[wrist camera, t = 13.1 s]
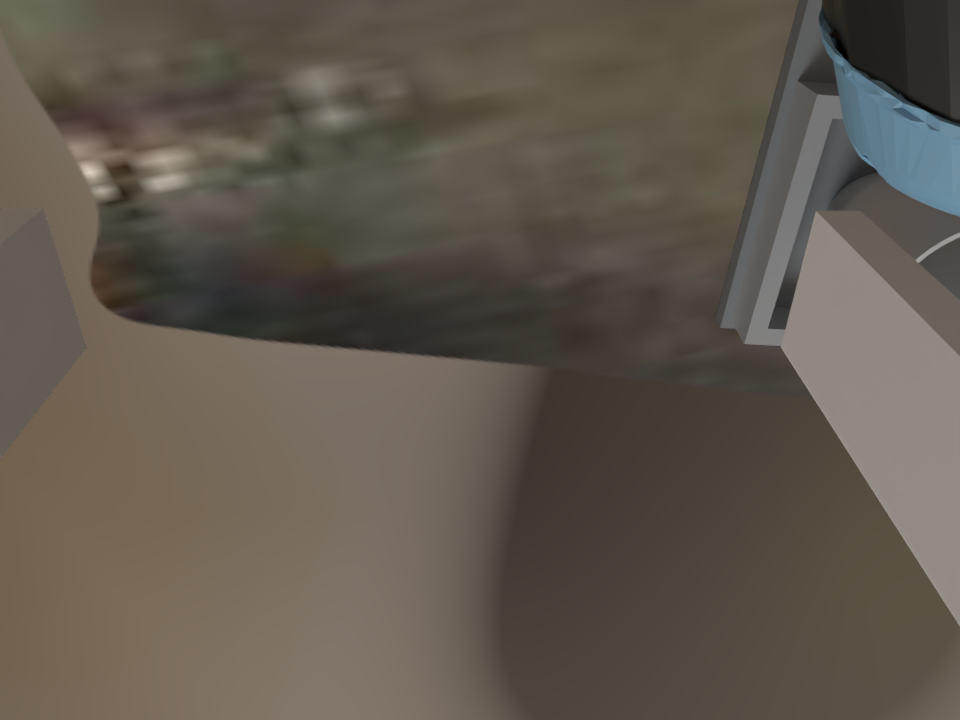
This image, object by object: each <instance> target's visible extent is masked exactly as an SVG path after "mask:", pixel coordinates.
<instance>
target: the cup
mask: <svg viewBox="0 0 960 720" xmlns="http://www.w3.org/2000/svg"><path fill="white" fill-rule="evenodd" d="M827 211H861V212H862V213H863V214H864V215H865V216H867V217H868V218H869V219H870V220H871V221H872V222H873V223H874V224H875V225H877V226H878V227H879V228H880V229H881V230H882V231H883V232H884V233H885V234H887V235H888V236H889V237H890V238H891V239H892V240H893V241H894V242H895V243H897V244H898V245H899V246H900V247H901V248H902V249H903V250H904V251H905V252H907V253H908V254H909V255H910V256H911V257H912V258H913V259H914V260H915V261H917V262H918V263H919V264H920V265H921V266H922V267H923V268H924V269H926V270H927V271H928V272H929V273H930V274H931V275H932V276H933V277H934V278H936V279H937V280H938V281H939V282H940V283H941V284H942V285H943V286H944V287H946V288H947V289H948V290H949V291H950V292H951V293H952V294H953V295H954V296H956V297H957V298H958V299H959V300H960V217H959V216H956V215H953V214H949V213H947V212H944V211H941V210H938V209H936V208H933V207H931V206H928V205H926V204H924V203H922V202H919V201H917V200H915V199H913V198H911V197H909V196H907V195H905V194H904V193H902V192H900V191H898V190H897V189H895V188H894V187H892V186H891V185H890V184H888V183H887V182H886V181H885V180H884V178H883V177H882V176H881V175H879V173H878V172H875V173H871V174H868V175H865V176H862V177H860V178H858V179H856V180H854V181H853V182H851V183H850V184H848V185H847V186H846V187H845V188H843V189H842V190H841V191H840V192H839V193H838V194H837V195H836V197H835V198H834V199H833V201H832V202H831V204H830V205H829V207H828V209H827Z"/></svg>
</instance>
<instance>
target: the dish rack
mask: <svg viewBox="0 0 960 720" xmlns="http://www.w3.org/2000/svg"><path fill="white" fill-rule="evenodd" d="M821 7H822V0H799V4H798V8H797V12H796V15H795V19H794V23H793V27H792V31H791V34H790V38H789V42H788V46H787V50H786V53H785V57H784V61H783V65H782V68H781V72H780V76H779V80H778V84H777V87H776V91H775V95H774V99H773V103H772V106H771V110H770V114H769V118H768V122H767V125H766V129H765V133H764V137H763V141H762V144H761V148H760V152H759V156H758V159H757V163H756V167H755V171H754V175H753V178H752V182H751V186H750V190H749V194H748V197H747V201H746V205H745V209H744V213H743V216H742V220H741V224H740V228H739V232H738V235H737V239H736V243H735V247H734V250H733V254H732V258H731V262H730V266H729V269H728V273H727V277H726V281H725V285H724V288H723V292H722V296H721V300H720V304H719V307H718V311H717V315H716V321H717V323H718V325H719V326H720V328H735V329H736V330H737V332H738V334H739V335H740V337H741V339H742V341H743V343H744V344H755V345H775V346H781V345H782V341H783V337H784V333H785V329H786V325H787V321H788V317H789V313H790V310H791V306H792V302H793V298H794V294H795V290H796V286H797V282H798V278H799V275H800V271H801V267H802V263H803V259H804V255H805V251H806V247H807V243H808V240H809V236H810V232H811V228H812V224H813V220H814V216H815V212H816V211H827V209H828V207H829V205H830V204H831V202H832V201H833V199H834V198H835V197H836V195H837V194H838V193H839V192H840V191H841V190H842V189H843V188H845V187H846V186H847V185H848V184H850V183H851V182H853V181H854V180H856V179H858V178H860V177H862V176H865V175H868V174H871V173H875V172H877V170H876V169H875V168H874V167H872V166H871V165H869V164H868V163H867V162H865V161H864V160H863V159H862V158H861V157H860V156H859V155H858V153H857V152H856V150H855V149H854V147H853V145H852V143H851V141H850V139H849V137H848V134H847V132H846V129H845V125H844V121H843V116H842V110H841V104H840V98H839V93H838V87H837V81H836V75H835V70H834V64H833V60H832V59H831V58H830V56H829V55H828V53H827V51H826V49H825V46H824V44H823V41H822V39H821V34H820V28H819V15H820V11H821Z"/></svg>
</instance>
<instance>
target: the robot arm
mask: <svg viewBox="0 0 960 720" xmlns="http://www.w3.org/2000/svg"><path fill="white" fill-rule="evenodd" d="M819 28H820V34H821V39H822V41H823V44H824V46H825V49H826V51H827V53H828V55H829V56H830V58H831V59H832V60H833V64H834V70H835V75H836V81H837V87H838V93H839V98H840V104H841V110H842V116H843V121H844V125H845V129H846V132H847V134H848V137H849V139H850V141H851V143H852V145H853V147H854V149H855V150H856V152H857V153H858V155H859V156H860V157H861V158H862V159H863V160H864V161H865V162H867V163H868V164H869V165H871V166H872V167H874V168H875V169H876V170H877V172H878V173H879V175H881V176H882V177H883V178H884V180H885V181H886V182H887V183H888V184H890V185H891V186H892V187H894V188H895V189H897V190H898V191H900V192H902V193H904V194H905V195H907V196H909V197H911V198H913V199H915V200H917V201H919V202H922V203H924V204H926V205H928V206H931V207H933V208H936V209H938V210H941V211H944V212H947V213H949V214H953V215H956V216H959V217H960V0H822V7H821V11H820V15H819ZM781 348H782V350H783V351H784V353H785V355H786V356H787V358H788V359H789V361H790V362H791V364H792V365H793V367H794V369H795V370H796V372H797V373H798V375H799V376H800V378H801V379H802V381H803V383H804V384H805V386H806V387H807V389H808V390H809V392H810V393H811V395H812V397H813V398H814V400H815V401H816V403H817V404H818V406H819V407H820V409H821V411H822V412H823V414H824V415H825V417H826V418H827V420H828V421H829V423H830V424H831V426H832V428H833V429H834V431H835V432H836V434H837V436H838V437H839V439H840V440H841V442H842V443H843V445H844V446H845V448H846V450H847V451H848V453H849V454H850V456H851V457H852V459H853V461H854V462H855V464H856V465H857V467H858V468H859V470H860V471H861V473H862V474H863V476H864V477H865V479H866V481H867V482H868V484H869V485H870V487H871V489H872V490H873V491H874V493H875V495H876V496H877V498H878V500H879V501H880V503H881V504H882V506H883V507H884V509H885V510H886V512H887V514H888V515H889V517H890V518H891V520H892V521H893V523H894V524H895V526H896V528H897V529H898V531H899V532H900V534H901V535H902V537H903V539H904V540H905V541H906V543H907V545H908V546H909V548H910V549H911V551H912V552H913V554H914V556H915V557H916V559H917V560H918V562H919V563H920V565H921V566H922V568H923V570H924V571H925V573H926V574H927V576H928V577H929V579H930V580H931V582H932V584H933V585H934V587H935V588H936V590H937V591H938V593H939V595H940V596H941V597H942V599H943V601H944V602H945V604H946V606H947V607H948V609H949V610H950V612H951V613H952V615H953V616H954V618H955V619H956V621H957V623H958V624H959V626H960V300H959V299H958V298H957V297H956V296H954V295H953V294H952V293H951V292H950V291H949V290H948V289H947V288H946V287H944V286H943V285H942V284H941V283H940V282H939V281H938V280H937V279H936V278H934V277H933V276H932V275H931V274H930V273H929V272H928V271H927V270H926V269H924V268H923V267H922V266H921V265H920V264H919V263H918V262H917V261H915V260H914V259H913V258H912V257H911V256H910V255H909V254H908V253H907V252H905V251H904V250H903V249H902V248H901V247H900V246H899V245H898V244H897V243H895V242H894V241H893V240H892V239H891V238H890V237H889V236H888V235H887V234H885V233H884V232H883V231H882V230H881V229H880V228H879V227H878V226H877V225H875V224H874V223H873V222H872V221H871V220H870V219H869V218H868V217H867V216H865V215H864V214H863V213H862V212H861V211H816V212H815V216H814V220H813V224H812V228H811V232H810V236H809V240H808V243H807V247H806V251H805V255H804V259H803V263H802V267H801V271H800V275H799V278H798V282H797V286H796V290H795V294H794V298H793V302H792V306H791V310H790V313H789V317H788V321H787V325H786V329H785V333H784V337H783V341H782V345H781ZM85 349H86V344H85V341H84V338H83V334H82V331H81V328H80V325H79V322H78V319H77V315H76V312H75V309H74V306H73V303H72V299H71V296H70V293H69V290H68V287H67V284H66V280H65V277H64V274H63V271H62V267H61V264H60V261H59V258H58V254H57V251H56V248H55V245H54V242H53V238H52V235H51V232H50V229H49V226H48V222H47V219H46V216H45V213H44V210H43V209H42V208H41V209H40V208H34V209H33V208H31V209H30V208H28V209H27V208H17V209H16V208H14V209H13V208H0V458H1V457H2V456H3V454H4V453H5V452H6V451H7V449H8V448H9V447H10V445H11V444H12V443H13V442H14V440H15V439H16V438H17V436H18V435H19V434H20V433H21V431H22V430H23V429H24V427H25V426H26V425H27V423H28V422H29V421H30V419H31V418H32V417H33V416H34V415H35V413H36V412H37V411H38V409H39V408H40V407H41V405H42V404H43V403H44V402H45V400H46V399H47V398H48V396H49V395H50V394H51V393H52V391H53V390H54V389H55V387H56V386H57V384H58V383H59V382H60V381H61V380H62V378H63V377H64V376H65V374H66V373H67V372H68V371H69V369H70V368H71V367H72V365H73V364H74V363H75V362H76V360H77V359H78V357H79V356H80V355H81V354H82V352H83V351H84V350H85Z"/></svg>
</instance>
